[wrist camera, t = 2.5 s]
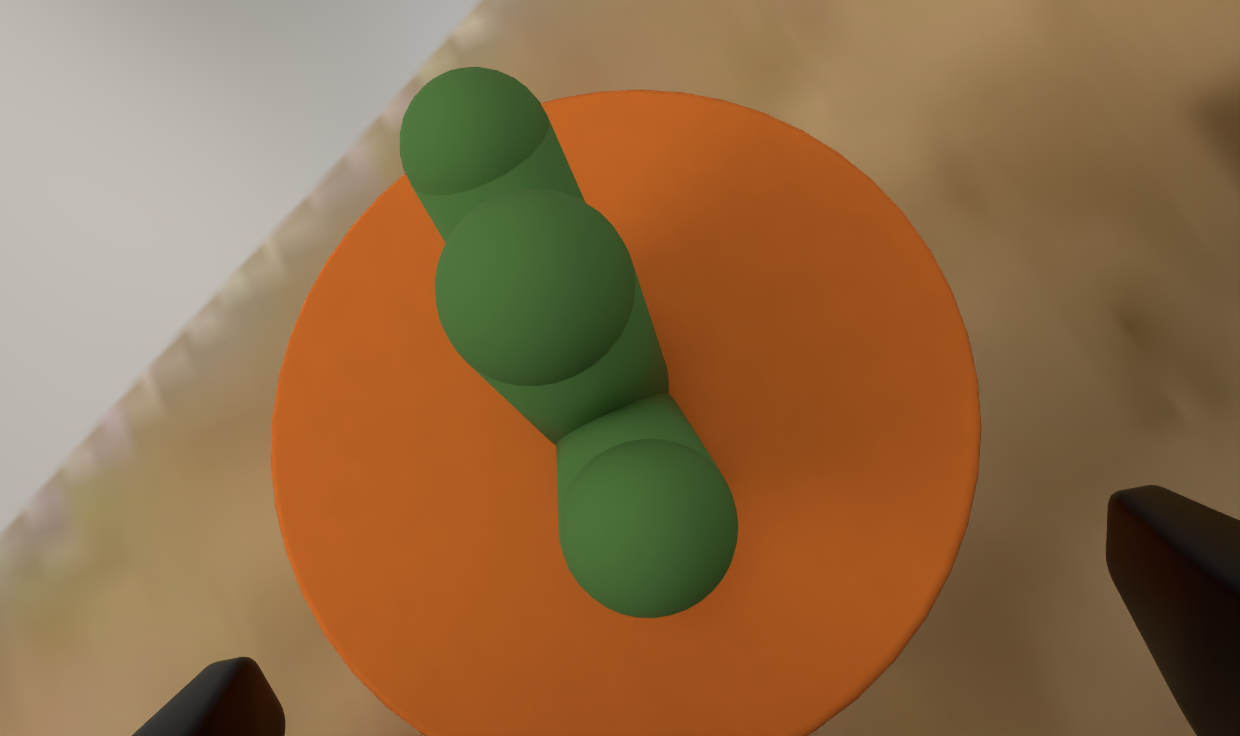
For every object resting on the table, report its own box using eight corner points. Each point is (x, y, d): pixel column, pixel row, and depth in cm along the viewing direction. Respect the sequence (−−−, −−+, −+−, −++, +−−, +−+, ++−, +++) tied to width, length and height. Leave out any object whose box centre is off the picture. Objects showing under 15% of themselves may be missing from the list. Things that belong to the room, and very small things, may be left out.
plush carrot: (892, 615, 18) (1463, 541, 3) (626, 739, 18) (108, 1173, 3) (760, 364, 19) (775, -359, 5) (519, 477, 20) (-104, 60, 5)
